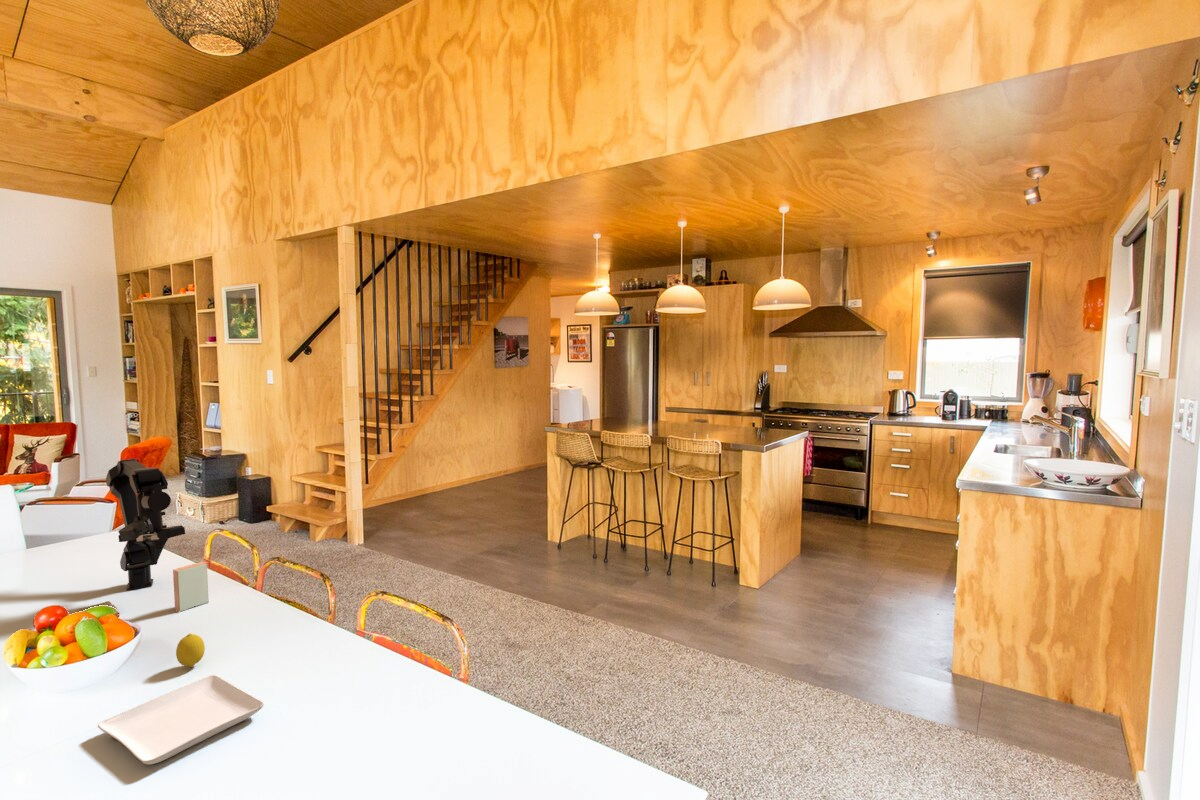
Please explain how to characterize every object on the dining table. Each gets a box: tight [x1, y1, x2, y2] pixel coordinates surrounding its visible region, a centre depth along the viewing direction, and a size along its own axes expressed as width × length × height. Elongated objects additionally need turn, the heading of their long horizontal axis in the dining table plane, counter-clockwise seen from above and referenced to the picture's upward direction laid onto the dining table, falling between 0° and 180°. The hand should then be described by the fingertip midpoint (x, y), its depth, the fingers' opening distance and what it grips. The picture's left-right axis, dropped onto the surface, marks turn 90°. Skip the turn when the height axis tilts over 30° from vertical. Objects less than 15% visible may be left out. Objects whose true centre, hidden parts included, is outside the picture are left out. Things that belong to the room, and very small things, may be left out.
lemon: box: [175, 633, 206, 668], centre depth 142 cm, size 6×6×8 cm
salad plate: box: [97, 674, 265, 765], centre depth 119 cm, size 21×21×3 cm
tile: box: [172, 561, 210, 612], centre depth 176 cm, size 2×8×12 cm, turn 150°
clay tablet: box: [67, 600, 118, 614], centre depth 171 cm, size 14×10×3 cm
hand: (154, 562), depth 182 cm, fingers closed
